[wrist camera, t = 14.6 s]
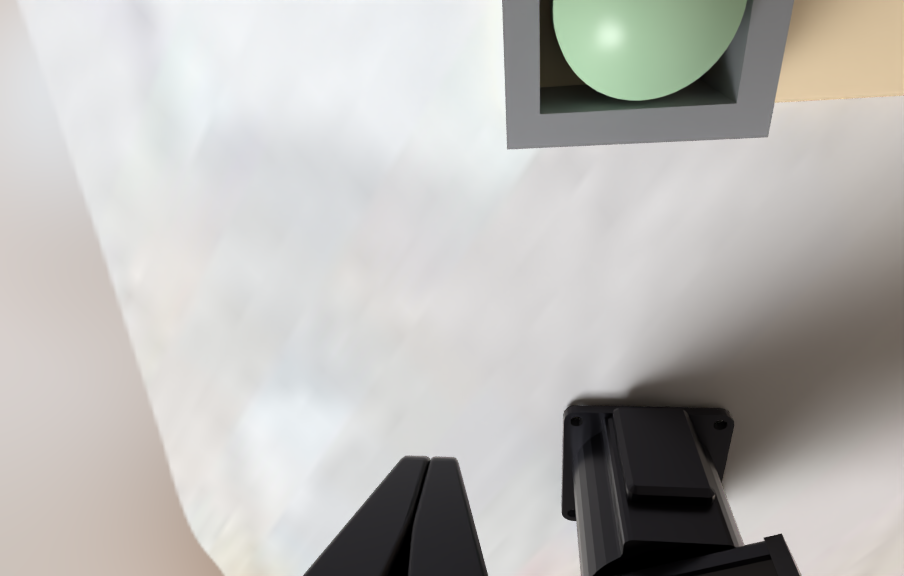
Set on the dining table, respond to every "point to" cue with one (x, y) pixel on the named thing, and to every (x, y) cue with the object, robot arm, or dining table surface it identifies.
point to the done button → (643, 42)
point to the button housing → (655, 120)
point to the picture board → (803, 51)
